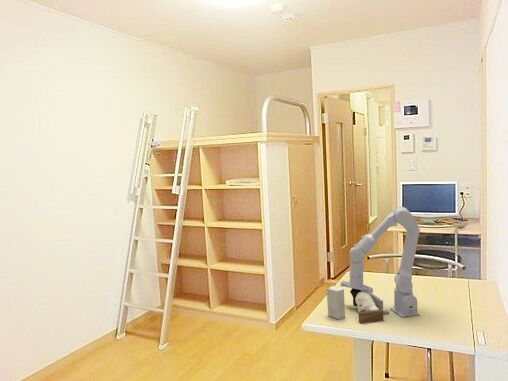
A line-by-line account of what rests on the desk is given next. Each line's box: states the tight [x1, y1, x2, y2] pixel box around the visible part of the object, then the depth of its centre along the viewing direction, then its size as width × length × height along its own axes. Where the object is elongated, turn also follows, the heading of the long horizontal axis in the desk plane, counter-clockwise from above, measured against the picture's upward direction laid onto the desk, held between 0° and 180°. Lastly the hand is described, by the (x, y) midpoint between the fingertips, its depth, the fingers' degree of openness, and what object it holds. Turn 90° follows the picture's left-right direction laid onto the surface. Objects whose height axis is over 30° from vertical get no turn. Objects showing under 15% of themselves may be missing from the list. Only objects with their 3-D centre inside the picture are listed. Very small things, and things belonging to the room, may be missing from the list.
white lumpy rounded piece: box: [355, 291, 379, 312], centre depth 167 cm, size 6×8×12 cm
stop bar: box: [357, 309, 384, 324], centre depth 160 cm, size 2×10×4 cm, turn 101°
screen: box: [367, 292, 390, 316], centre depth 176 cm, size 22×4×6 cm, turn 11°
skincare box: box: [326, 285, 346, 320], centre depth 165 cm, size 6×4×12 cm
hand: (356, 305), depth 173 cm, fingers closed
